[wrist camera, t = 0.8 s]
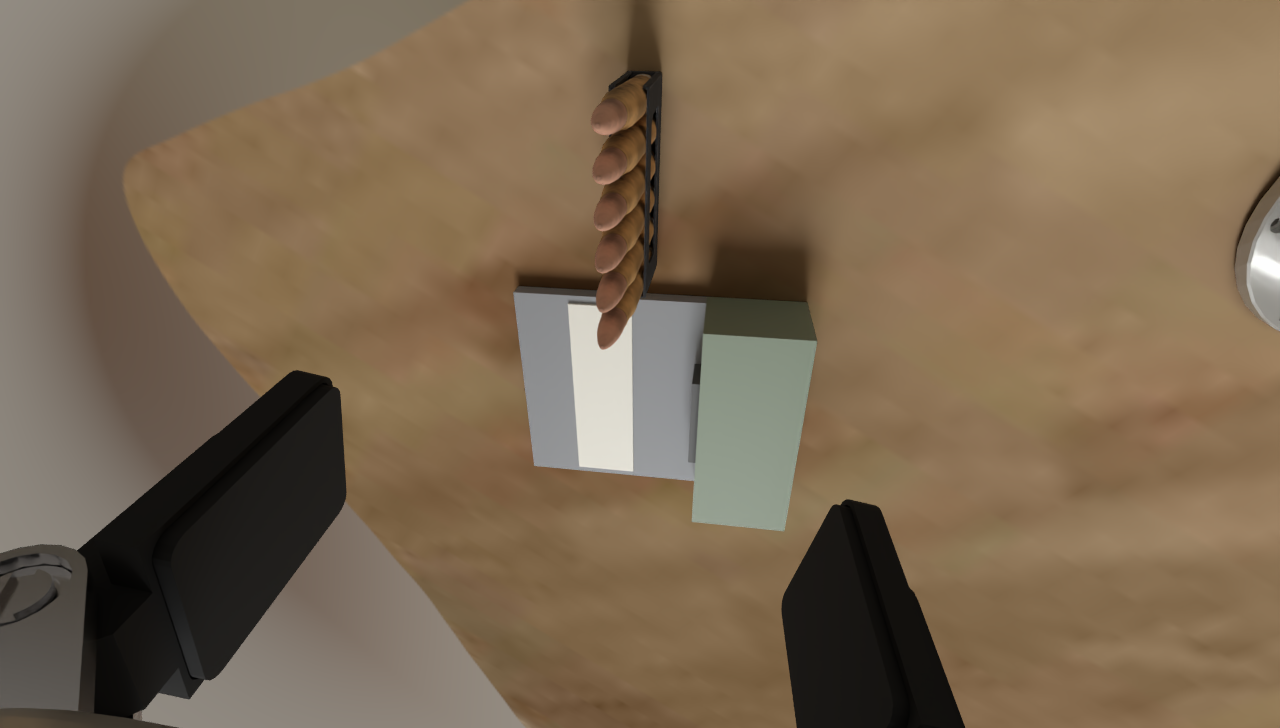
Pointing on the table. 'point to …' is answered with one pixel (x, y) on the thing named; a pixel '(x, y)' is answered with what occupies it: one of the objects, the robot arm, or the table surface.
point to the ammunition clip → (627, 197)
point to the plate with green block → (673, 394)
